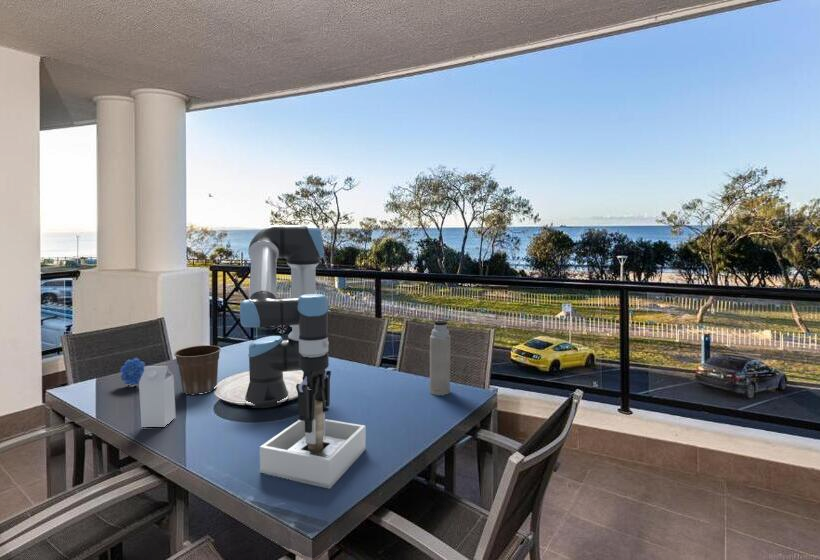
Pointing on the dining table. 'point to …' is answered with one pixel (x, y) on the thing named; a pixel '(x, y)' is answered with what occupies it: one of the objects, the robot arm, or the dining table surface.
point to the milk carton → (157, 396)
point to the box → (310, 466)
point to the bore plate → (328, 446)
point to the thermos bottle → (440, 359)
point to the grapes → (132, 371)
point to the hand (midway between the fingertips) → (315, 438)
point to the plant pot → (198, 368)
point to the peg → (318, 428)
